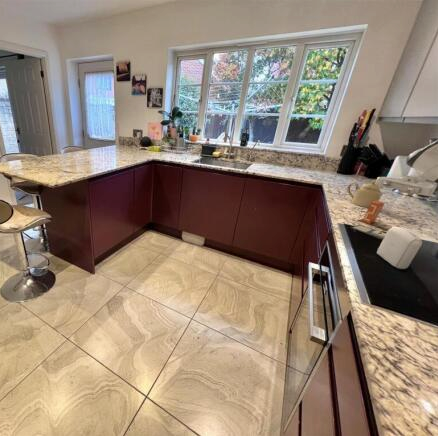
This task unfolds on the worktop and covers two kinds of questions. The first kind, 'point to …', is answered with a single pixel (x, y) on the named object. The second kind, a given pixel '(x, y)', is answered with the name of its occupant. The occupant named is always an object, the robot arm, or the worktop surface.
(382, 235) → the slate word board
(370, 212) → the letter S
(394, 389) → the worktop surface
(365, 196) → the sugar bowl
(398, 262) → the photo printer
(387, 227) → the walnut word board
